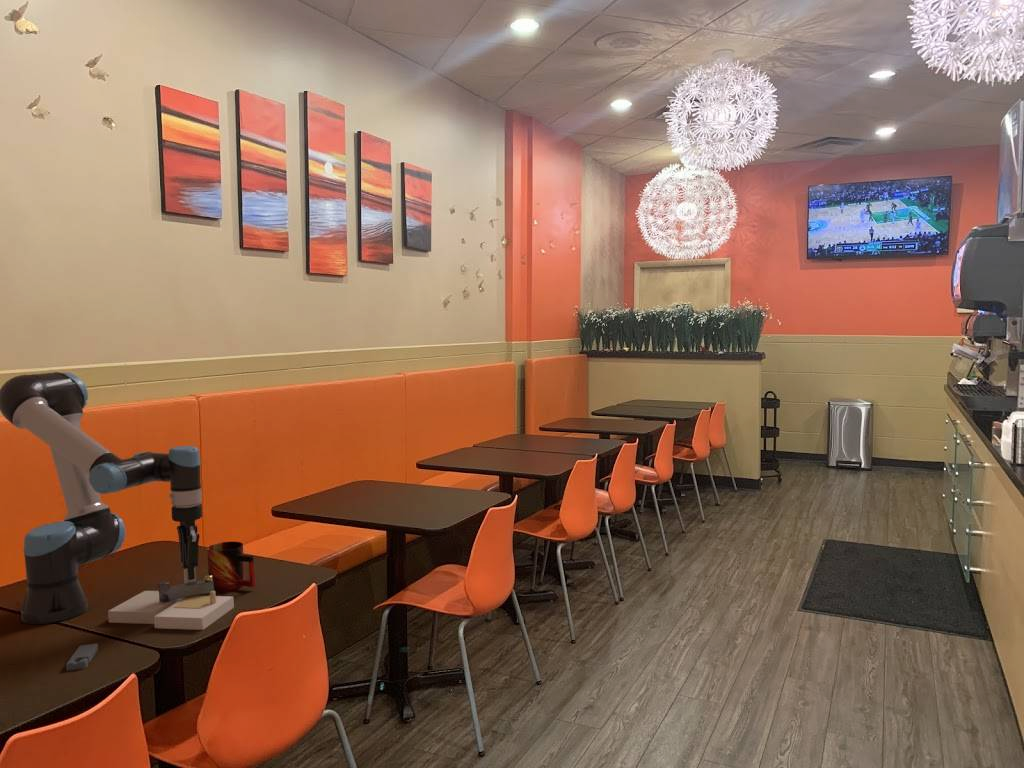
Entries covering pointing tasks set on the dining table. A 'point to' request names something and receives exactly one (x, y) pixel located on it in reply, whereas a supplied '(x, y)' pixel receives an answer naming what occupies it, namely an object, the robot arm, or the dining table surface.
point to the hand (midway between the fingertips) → (190, 590)
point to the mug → (229, 566)
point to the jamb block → (140, 608)
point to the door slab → (194, 612)
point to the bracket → (82, 657)
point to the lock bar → (185, 589)
